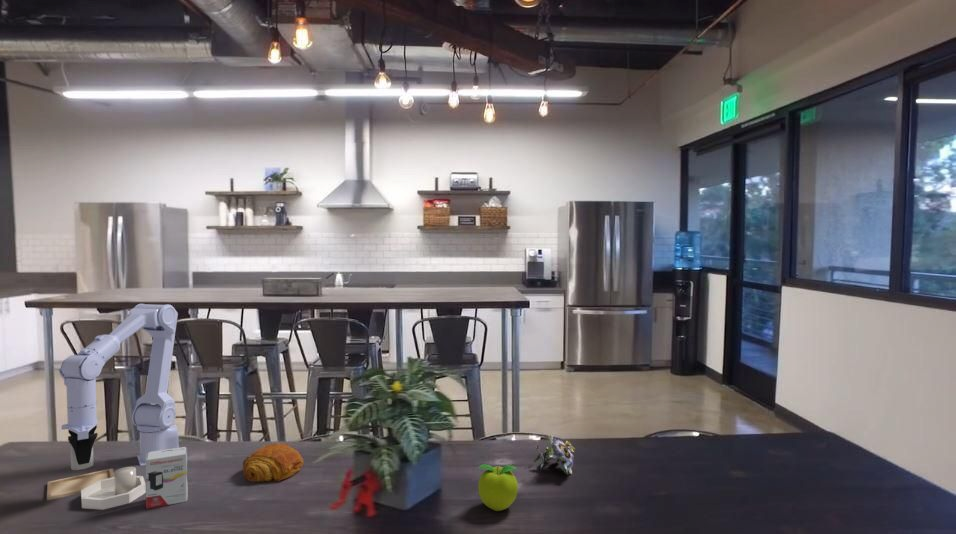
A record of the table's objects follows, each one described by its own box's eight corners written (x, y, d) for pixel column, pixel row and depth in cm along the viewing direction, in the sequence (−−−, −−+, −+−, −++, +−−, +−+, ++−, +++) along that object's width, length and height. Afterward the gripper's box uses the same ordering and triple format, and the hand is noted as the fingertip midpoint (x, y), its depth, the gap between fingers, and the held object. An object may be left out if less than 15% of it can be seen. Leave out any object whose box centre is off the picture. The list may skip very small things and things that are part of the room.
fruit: (478, 498, 131) (478, 457, 130) (516, 498, 131) (516, 458, 130) (476, 517, 122) (477, 474, 121) (518, 518, 122) (518, 475, 121)
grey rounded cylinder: (136, 486, 135) (135, 465, 134) (136, 493, 131) (135, 471, 131) (115, 490, 132) (114, 469, 132) (114, 498, 129) (114, 475, 128)
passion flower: (568, 493, 145) (577, 469, 138) (528, 483, 146) (535, 459, 139) (571, 456, 154) (579, 432, 147) (533, 447, 155) (540, 423, 148)
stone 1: (93, 460, 133) (92, 439, 133) (93, 467, 130) (92, 445, 129) (71, 465, 131) (70, 443, 131) (70, 471, 127) (69, 449, 127)
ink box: (145, 509, 125) (144, 459, 124) (147, 500, 129) (145, 452, 128) (187, 501, 128) (186, 453, 128) (187, 493, 133) (186, 446, 132)
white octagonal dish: (141, 481, 139) (141, 471, 139) (147, 499, 129) (147, 489, 129) (80, 494, 131) (80, 484, 131) (82, 516, 121) (82, 504, 121)
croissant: (233, 486, 141) (228, 458, 140) (276, 456, 155) (272, 430, 154) (276, 495, 136) (271, 466, 134) (316, 463, 150) (312, 437, 148)
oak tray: (112, 471, 144) (112, 468, 144) (115, 486, 136) (115, 482, 136) (47, 485, 136) (47, 481, 136) (46, 502, 128) (46, 497, 128)
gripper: (61, 400, 133) (63, 454, 134) (60, 415, 121) (62, 474, 122) (96, 395, 137) (98, 447, 138) (98, 410, 126) (100, 467, 126)
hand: (83, 460), depth 130 cm, fingers closed on stone 1, 4 cm apart
